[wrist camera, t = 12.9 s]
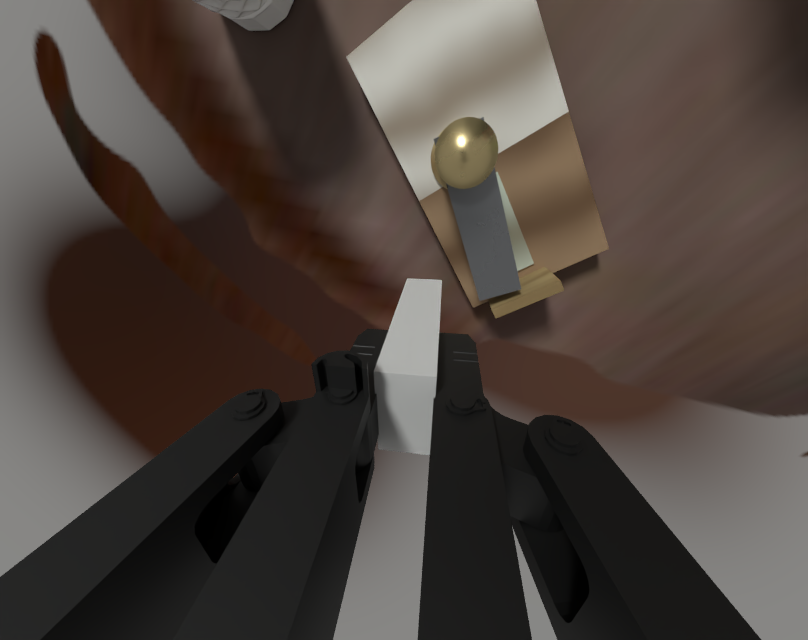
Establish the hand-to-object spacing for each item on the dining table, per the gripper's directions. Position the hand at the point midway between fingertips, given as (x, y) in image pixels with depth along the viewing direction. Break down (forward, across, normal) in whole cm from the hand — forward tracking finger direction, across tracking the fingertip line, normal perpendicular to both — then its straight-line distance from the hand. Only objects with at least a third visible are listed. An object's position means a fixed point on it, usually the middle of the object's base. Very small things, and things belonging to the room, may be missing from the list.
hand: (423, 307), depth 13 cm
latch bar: (+12, +3, +3) cm, 12 cm away
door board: (+14, +3, +6) cm, 16 cm away
